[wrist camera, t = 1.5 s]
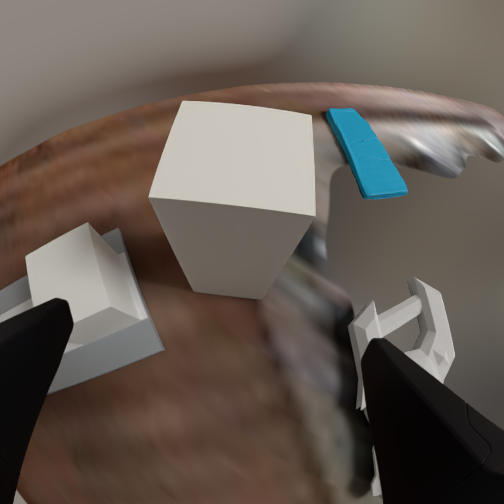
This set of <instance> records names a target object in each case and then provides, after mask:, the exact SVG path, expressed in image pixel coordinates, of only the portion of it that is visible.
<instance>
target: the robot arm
mask: <svg viewBox="0 0 504 504" xmlns="http://www.w3.org/2000/svg"><path fill="white" fill-rule="evenodd" d="M73 327H74V321H73V317H72V314H71V310H70V306H69V303H68V301H67V300H65V299H61V298H53V299H51V300H49V301H46V302H44V303H42V304H40V305H37V306H35V307H33V308H31V309H29V310H26V311H24V312H22V313H20V314H18V315H15V316H13V317H11V318H9V319H7V320H5V321H2V322H0V504H13V501H14V496H15V492H16V487H17V483H18V479H19V475H20V471H21V467H22V464H23V460H24V457H25V454H26V450H27V447H28V444H29V441H30V438H31V435H32V432H33V429H34V427H35V424H36V421H37V418H38V416H39V413H40V411H41V408H42V406H43V403H44V401H45V398H46V396H47V393H48V391H49V389H50V386H51V384H52V382H53V380H54V377H55V375H56V373H57V370H58V368H59V365H60V363H61V360H62V357H63V354H64V352H65V349H66V346H67V343H68V341H69V338H70V335H71V333H72V330H73ZM361 371H362V379H363V387H364V396H365V404H366V410H367V415H368V420H369V424H370V429H371V434H372V439H373V444H374V449H375V455H376V460H377V466H378V472H379V478H380V484H381V491H382V498H383V504H504V430H503V429H501V428H500V427H498V426H497V425H495V424H494V423H493V422H491V421H490V420H488V419H487V418H485V417H484V416H483V415H482V414H480V413H479V412H478V411H476V410H475V409H474V408H473V407H471V406H470V405H469V404H468V403H466V402H465V401H464V400H463V399H461V398H460V397H459V396H458V395H456V394H455V393H454V392H453V391H451V390H450V389H449V388H448V387H446V386H445V385H444V384H443V383H441V382H440V381H439V380H438V379H436V378H435V377H434V376H433V375H431V374H430V373H429V372H427V371H426V370H425V369H424V368H422V367H421V366H420V365H419V364H417V363H416V362H415V361H413V360H412V359H411V358H410V357H408V356H407V355H406V354H405V353H403V352H402V351H400V350H399V349H398V348H397V347H396V346H394V345H393V344H392V343H390V342H389V341H388V340H386V339H385V338H372V339H371V340H370V342H369V344H368V346H367V348H366V350H365V352H364V354H363V356H362V358H361Z"/></svg>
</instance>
